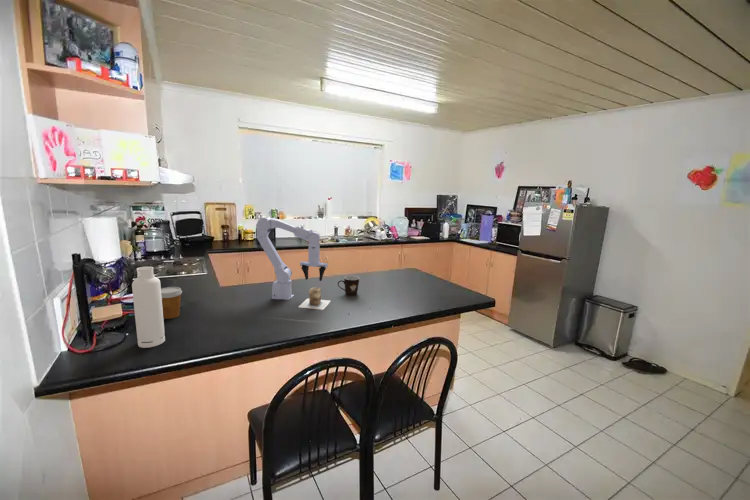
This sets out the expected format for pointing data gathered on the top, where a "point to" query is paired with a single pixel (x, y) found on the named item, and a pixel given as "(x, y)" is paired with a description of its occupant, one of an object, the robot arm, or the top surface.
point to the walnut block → (315, 301)
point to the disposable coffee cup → (171, 302)
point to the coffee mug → (350, 285)
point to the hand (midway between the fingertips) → (313, 279)
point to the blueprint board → (320, 306)
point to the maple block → (314, 292)
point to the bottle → (148, 308)
